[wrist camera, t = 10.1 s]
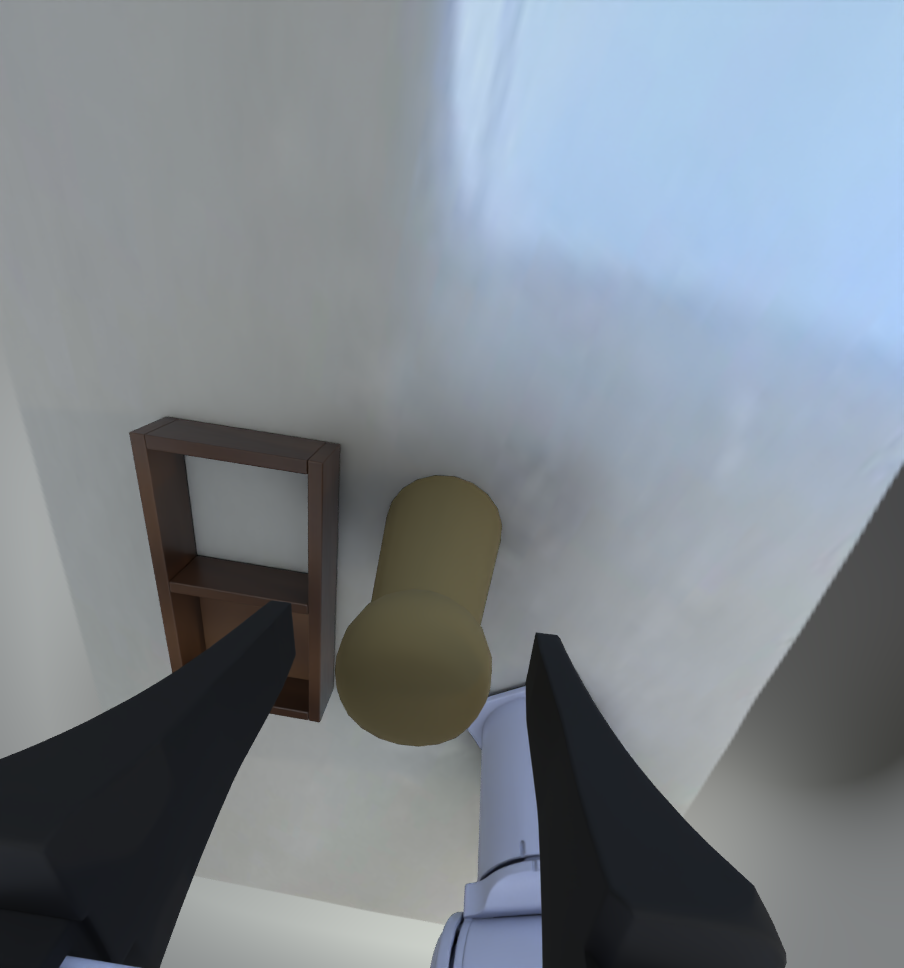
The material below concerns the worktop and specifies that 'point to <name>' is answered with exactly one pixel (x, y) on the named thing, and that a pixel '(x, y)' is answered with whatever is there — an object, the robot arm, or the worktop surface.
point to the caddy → (232, 585)
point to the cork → (424, 618)
